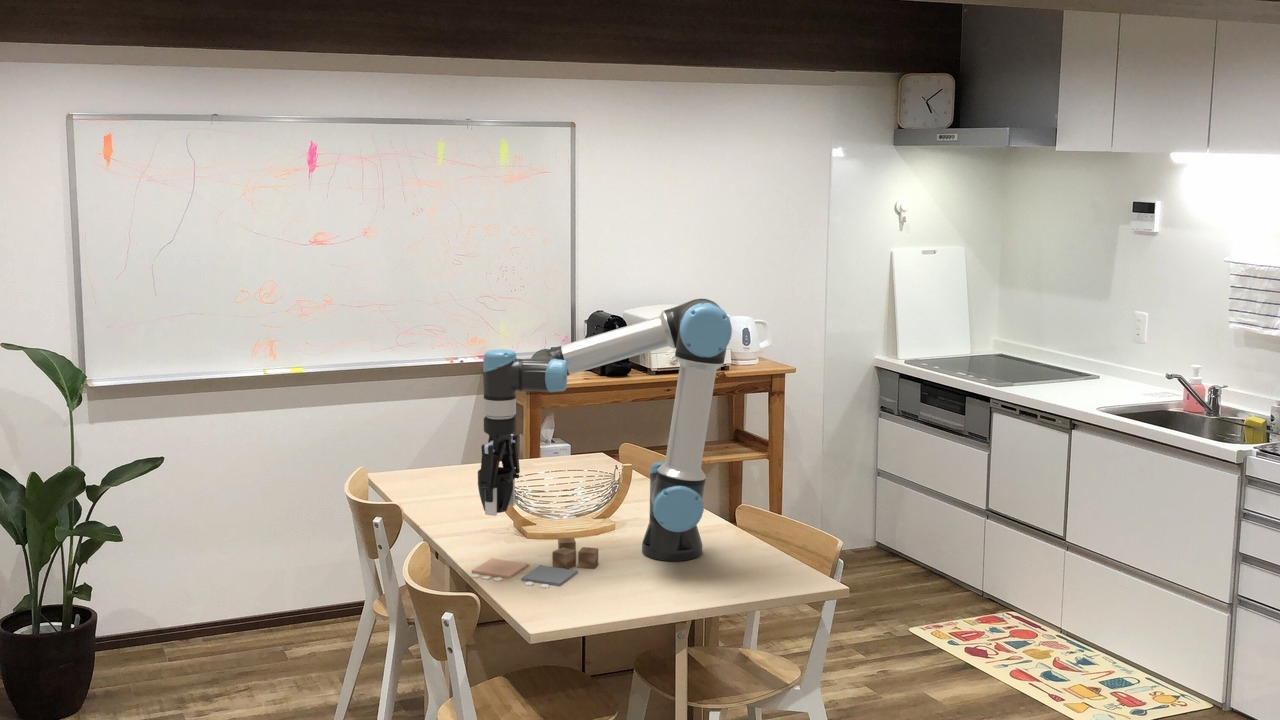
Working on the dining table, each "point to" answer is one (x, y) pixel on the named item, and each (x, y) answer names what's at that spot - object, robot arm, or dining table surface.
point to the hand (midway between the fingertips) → (500, 509)
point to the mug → (500, 488)
